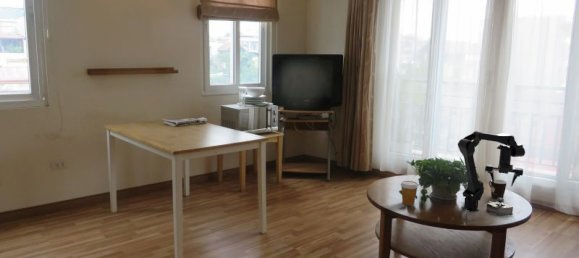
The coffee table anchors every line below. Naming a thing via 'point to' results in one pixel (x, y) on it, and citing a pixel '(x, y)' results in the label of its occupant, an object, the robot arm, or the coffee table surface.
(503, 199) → the plunger
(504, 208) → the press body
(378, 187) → the coffee table surface
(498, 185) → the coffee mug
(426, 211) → the coffee table surface
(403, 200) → the beer cup
